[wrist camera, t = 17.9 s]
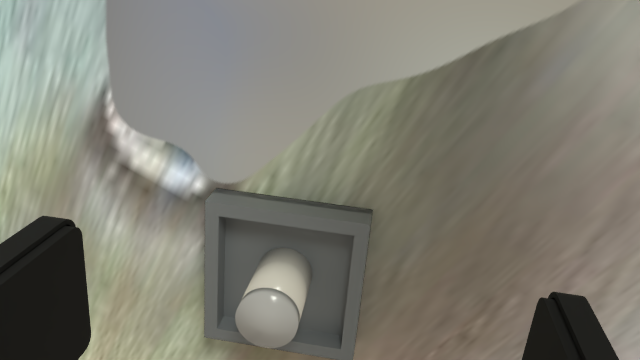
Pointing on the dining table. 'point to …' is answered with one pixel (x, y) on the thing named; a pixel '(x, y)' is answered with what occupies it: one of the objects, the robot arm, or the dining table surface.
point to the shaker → (274, 298)
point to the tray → (302, 236)
